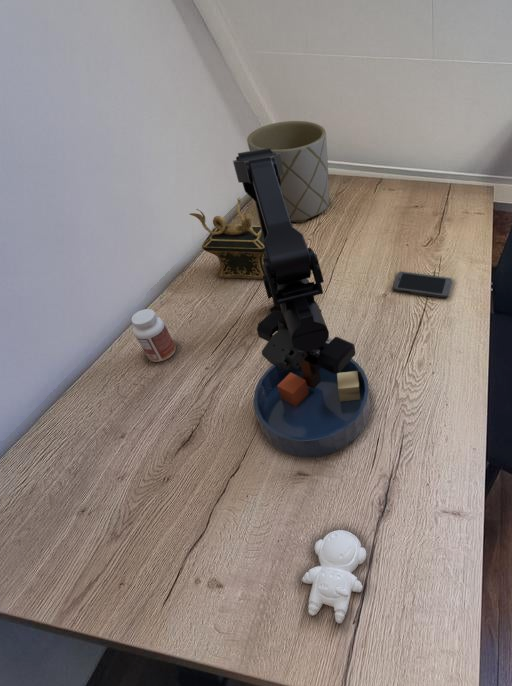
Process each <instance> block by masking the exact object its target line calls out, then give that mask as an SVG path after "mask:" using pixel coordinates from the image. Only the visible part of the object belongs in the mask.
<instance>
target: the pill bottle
mask: <svg viewBox="0 0 512 686" xmlns="http://www.w3.org/2000/svg"><path fill="white" fill-rule="evenodd" d="M131 323H132V325H133V329H132V330H133V334H134V336H135V338H136V340H137V341H138V343H139V345H140V347H141V349H142V350H143V352H144V354H145V356H146V357H147V359H148V360H149V361H151V362H155V363H160V362H164V361H166V360H168V359H170V358H171V357H172V356H173V355H174V353H176V344H175V342H174V340H173V338H172V336H171V334H170V332H169V331H168V328H167V325H166V323H165V322H164V320H163V319H162V318H160V317H158V316H157V314H156V312H155V311H154V310H153V309H150V308H144V309H141V310H138V311H136V312H135V313H134V314H133V315H132V316H131Z"/></svg>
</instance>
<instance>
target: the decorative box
mask: <svg viewBox="0 0 512 686" xmlns="http://www.w3.org/2000/svg"><path fill="white" fill-rule="evenodd" d="M243 201H244V200H243V199H242V198H241V197H238V198H237V207H236V213H237V215H238V218H240V220H241V224H239V223H232V224H227V222H226V220H225V219H224V217H222V216H221V215H215V216H214V217H213V219H212V224H213V226H214V227H215V228H213V229H212V230H211V229H210V228H209V227H208V226H207V224H206V215H205V214H204V212H203V211H201V210H200V209H198V208H196V210H197V211H198V212H199V213H195V212H190V213H189V214H188V215H190V216H193V217H195V218H197V219H198V220H199V222H200V223H201V225H202V227H203V228H204V229H205V230H206V231H207V232H208V233H209V234H208V236H207V237H206V239H205V240H204V241H203V242H202V244H201V247H202V249H203V250H204V251H205V252H207V253H209V254H212V255H214V256H216V258H217V259H218V261H219V272H218V276H219V277H220V278H228V279H229V278H231V279H251V280H252V279H253V280H255V279H258V280H263V277H262V276H263V275H265V272H264V268H263V264H264V262H263V258H266V252H265V247H264V238H263V233H262V229H261V225H252V214H250V213H247V214H245V216H244V215H243V214H242V213H241V204H242V202H243Z"/></svg>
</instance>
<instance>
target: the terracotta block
mask: <svg viewBox="0 0 512 686" xmlns="http://www.w3.org/2000/svg"><path fill="white" fill-rule="evenodd" d="M278 390H279V393H280V397H281V399H283V400H285V401H287V402H288V403H290V404H292V405H294V406H297V405H298V404H299V403H300V402H301V401H302V400H303V399H304V398H305V397H306V396H307V394H308V393H309V391H308V387H307V382H306V380H305V379H303V378H301V377H299V376H297V375H295V374H293V373H291V372H290V373H289V374H288V375H287V376H286V377H285V378H284V379H283V380H282V381H281V382H280V383H279V384H278Z"/></svg>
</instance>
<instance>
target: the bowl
mask: <svg viewBox="0 0 512 686" xmlns="http://www.w3.org/2000/svg"><path fill="white" fill-rule="evenodd" d="M319 371H320V377H321V382H320V383H319V384H318V385H317V386H316V387H315V388H314V389H313V388H311V387H309V386H307V387H308V391H309V393H308V394H307V396H306V397H305V398H304V399H303V400H302V401H301V402H300V403H299V404H298V405H297V406H294V405H292V404H290V403H288V402H287V401H285V400H283V399H281V397H280V393H279V390H278V384H279V383H280V382H281V381H282V380H283V379H284V378H285V377H286V376H287V375H288V374H289V373H290V372H291V373H293V374H295V375H297V376H299V377H301V378H303V374H302V368H301V365H300V367H299V368H297V369H296V368H294V367H293V368H291V369H290V370H287V371H284V370H282V369H281V368H279V367H277V366H275V365H273V364H271V366H270V367H268V369H267V370H266V371H264V373H263V375H262V376H261V377H260V378H259V380H258V381H257V385H256V387H255V390H254V393H253V407H254V414H255V416H256V418H257V421H258V424H259V427H260V429H261V431H262V433H263V435H264V437H265V438H266V440H267V442H269V443H270V444H271V446H273V447H274V448H275V449H277V450H279V451H280V452H281V453H284V454H287V455H289V456H293V457H297V458H306V459H307V458H308V459H309V458H319V457H324V456H328V455H331V454H333V453H336V452H339V451H340V450H342V449H344V448H345V447H347V446H349V445H350V444H352V443H353V441H355V440H356V438H357V437H358V436H359V435H360V434H361V433H362V431H363V429H364V428H365V426H366V425H367V423H368V421H369V420H368V419H369V416H370V411H371V410H370V409H371V401H370V399H371V398H370V388H369V387H370V386H369V380H368V377H367V375H366V373H365V371H364V369H363V368H362V367H361V366H360V364H359V363H358V362H357V361H355V360H354V359H353V358H352V359H351V360H350V361H349V362H348V363H347V364H346V366H345V367H344V368H343V369H342V370H341V371H340V372H339V373H343V372H352V371H357V372H358V381H359V391H360V400H351V401H342V402H340V398H339V392H338V380H337V373H336V374H334V373H332V372H330V371H328V370H325V369H323V368H322V367H320V370H319Z"/></svg>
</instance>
